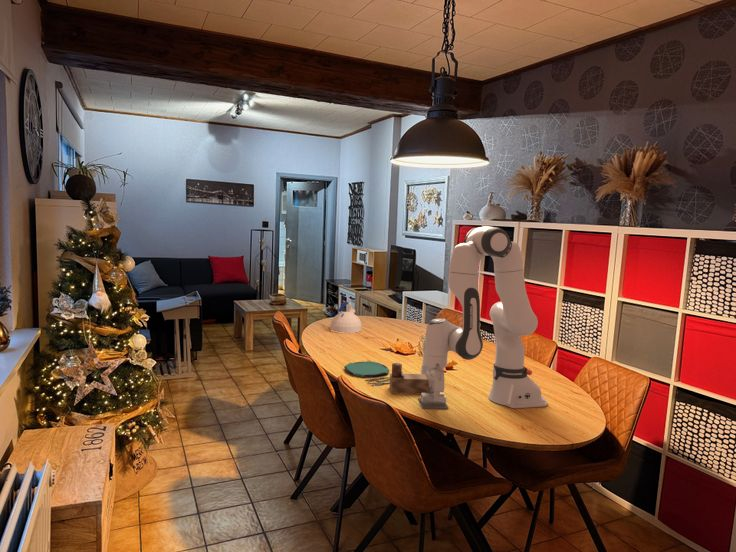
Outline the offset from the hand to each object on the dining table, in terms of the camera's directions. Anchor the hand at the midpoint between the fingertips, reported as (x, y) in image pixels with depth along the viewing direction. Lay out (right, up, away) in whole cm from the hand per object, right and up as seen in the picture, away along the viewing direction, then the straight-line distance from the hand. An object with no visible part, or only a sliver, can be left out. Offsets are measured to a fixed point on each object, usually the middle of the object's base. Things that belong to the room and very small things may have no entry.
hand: (433, 395), depth 194 cm
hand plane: (-6, -1, +15) cm, 16 cm away
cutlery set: (-24, +1, +34) cm, 42 cm away
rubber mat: (0, -3, 0) cm, 3 cm away
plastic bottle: (+2, 0, +34) cm, 34 cm away
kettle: (-39, +12, +121) cm, 128 cm away
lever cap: (0, -3, 0) cm, 3 cm away
